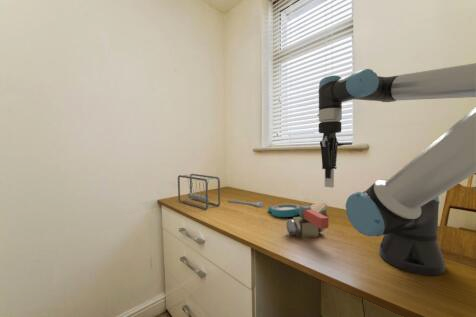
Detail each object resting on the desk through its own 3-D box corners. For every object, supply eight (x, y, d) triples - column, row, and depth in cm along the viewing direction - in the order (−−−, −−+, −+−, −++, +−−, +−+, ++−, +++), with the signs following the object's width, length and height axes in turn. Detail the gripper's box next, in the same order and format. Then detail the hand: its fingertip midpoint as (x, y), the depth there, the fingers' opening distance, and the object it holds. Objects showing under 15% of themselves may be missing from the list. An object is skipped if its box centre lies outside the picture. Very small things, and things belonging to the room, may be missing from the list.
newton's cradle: (178, 201, 135) (177, 175, 134) (191, 198, 143) (190, 173, 142) (207, 210, 115) (206, 179, 114) (220, 206, 123) (220, 177, 122)
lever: (297, 215, 83) (297, 206, 83) (307, 214, 84) (307, 205, 84) (318, 229, 69) (318, 217, 69) (330, 227, 70) (330, 216, 70)
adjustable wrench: (227, 202, 133) (227, 200, 133) (233, 200, 138) (233, 198, 138) (261, 208, 119) (261, 205, 119) (266, 205, 124) (266, 202, 124)
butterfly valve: (257, 223, 102) (318, 230, 84) (255, 209, 102) (317, 213, 84) (280, 210, 123) (333, 213, 105) (279, 198, 123) (332, 200, 105)
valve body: (314, 229, 87) (315, 213, 86) (325, 235, 80) (325, 218, 80) (285, 232, 84) (285, 216, 83) (294, 239, 77) (294, 222, 77)
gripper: (325, 124, 81) (324, 183, 82) (312, 121, 71) (311, 188, 72) (346, 122, 76) (345, 185, 77) (335, 119, 66) (334, 191, 67)
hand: (329, 186), depth 75 cm, fingers closed
